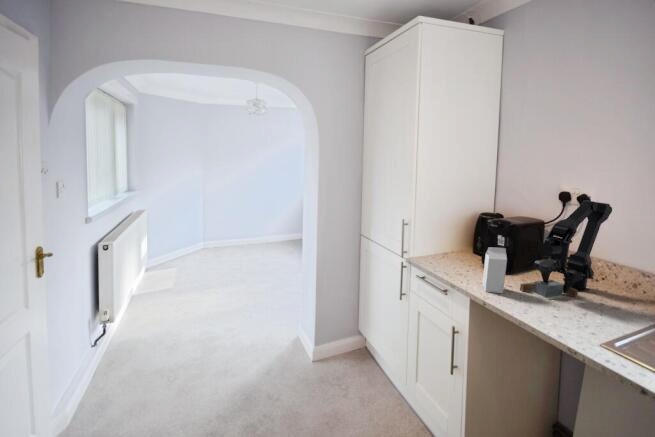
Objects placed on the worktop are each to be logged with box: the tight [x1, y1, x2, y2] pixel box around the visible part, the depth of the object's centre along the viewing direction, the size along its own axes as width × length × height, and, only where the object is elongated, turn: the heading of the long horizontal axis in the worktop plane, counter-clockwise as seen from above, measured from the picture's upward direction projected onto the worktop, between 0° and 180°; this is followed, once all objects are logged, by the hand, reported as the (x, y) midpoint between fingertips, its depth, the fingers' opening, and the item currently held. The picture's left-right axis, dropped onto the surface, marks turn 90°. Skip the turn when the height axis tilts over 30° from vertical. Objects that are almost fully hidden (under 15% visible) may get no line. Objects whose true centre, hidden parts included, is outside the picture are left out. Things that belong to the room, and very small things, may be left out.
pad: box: [529, 290, 565, 300], centre depth 160 cm, size 9×9×1 cm
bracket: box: [533, 280, 564, 299], centre depth 159 cm, size 9×6×5 cm, turn 108°
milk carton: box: [482, 246, 508, 294], centre depth 162 cm, size 7×7×19 cm
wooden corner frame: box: [519, 279, 579, 298], centre depth 160 cm, size 18×13×3 cm
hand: (554, 289), depth 158 cm, fingers open, 9 cm apart
